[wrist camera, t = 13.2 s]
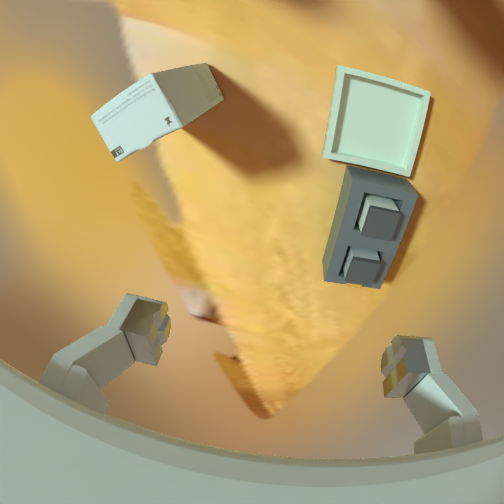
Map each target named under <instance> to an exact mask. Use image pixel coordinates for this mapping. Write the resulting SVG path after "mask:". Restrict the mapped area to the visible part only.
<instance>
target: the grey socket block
mask: <svg viewBox="0 0 504 504" xmlns="http://www.w3.org/2000/svg"><path fill="white" fill-rule="evenodd" d="M364 192H365V193H370V194H375V195H379V196H384V197H388V198H392V199H393V201H394V203H395V205H396V206H397V208H398V210H399V212H400V214H401V215H400V218H399V221H398V224H397V226H396V229H395V232H394V234H393V237H392V239H391V241H385V240H380V239H374V238H369V237H363V236H362V234H361V231H360V228H359V224H358V221H357V216H358V213H359V209H360V206H361V202H362V199H363V195H364ZM417 198H418V194H417V192H416V191H415V190H414V188H413V187H412V186H411V184H410V183H409V182H408V180H407V179H404V178H400V177H396V176H392V175H388V174H383V173H379V172H375V171H370V170H366V169H361V168H357V167H352V166H346V171H345V175H344V179H343V184H342V188H341V192H340V196H339V200H338V204H337V208H336V212H335V216H334V220H333V224H332V228H331V231H330V235H329V239H328V242H327V246H326V250H325V253H324V257H323V274H324V281H327V282H334V283H341V284H346V286H348V287H356V288H361V287H370V288H377V289H380V288H381V285H382V283H383V281H384V279H385V277H386V275H387V273H388V270H389V268H390V266H391V264H392V261H393V259H394V257H395V254H396V252H397V250H398V247H399V245H400V242H401V240H402V238H403V235H404V233H405V230H406V227H407V225H408V222H409V220H410V217H411V214H412V212H413V209H414V206H415V203H416V201H417ZM348 246H352V247H358V248H364V249H370V250H375V251H377V253H378V256H379V259H380V262H381V266H380V268H379V271H378V273H377V275H376V277H375V280H374V282H373V284H372V286H366V285H359V284H351V283H345V277H344V270H343V264H342V263H343V260H344V257H345V254H346V251H347V248H348Z"/></svg>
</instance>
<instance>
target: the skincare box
mask: <svg viewBox="0 0 504 504" xmlns="http://www.w3.org/2000/svg"><path fill="white" fill-rule="evenodd" d="M223 100H224V98H223V95H222V93H221V91H220V89H219V87H218V85H217V83H216V81H215V79H214V77H213V75H212V73H211V71H210V69H209V67H208V65H207V64H206V63H202V64H196V65H190V66H185V67H180V68H175V69H170V70H166V71H161V72H156V73H151V74H149V75H147V76H146V77H144V78H142V79H141V80H139V81H138V82H136V83H135V84H133V85H132V86H130V87H129V88H127V89H126V90H124V91H123V92H121V93H120V94H118V95H117V96H116V97H114V98H113V99H112V100H110V101H109V102H108V103H106V104H105V105H104V106H103V107H102V108H100V109H99V110H98V111H96V112H95V113H94V114H93V115H92V116H91V118H92V120H93V122H94V124H95V126H96V128H97V129H98V131H99V133H100V134H101V136H102V138H103V140H104V141H105V143H106V145H107V146H108V148H109V150H110V152H111V153H112V155H113V156H114V158H115V160H116V161H117V162H120V161H121V160H123V159H125V158H126V157H128V156H129V155H131V154H133V153H134V152H136V151H138V150H140V149H143V148H146V147H148V146H149V145H150V144H151V143H152V142H154V141H156V140H158V139H159V138H161V137H163V136H165V135H167V134H169V133H171V132H174V131H176V130H179V129H181V128H183V127H184V126H186V125H187V124H189V123H190V122H192V121H193V120H195V119H196V118H197V117H199V116H200V115H202V114H203V113H205V112H206V111H208V110H210V109H211V108H213V107H214V106H216V105H217V104H219V103H220V102H222V101H223Z"/></svg>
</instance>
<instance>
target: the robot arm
mask: <svg viewBox="0 0 504 504" xmlns="http://www.w3.org/2000/svg"><path fill="white" fill-rule="evenodd" d="M167 311H168V305H167V303H166V302H162V301H158V300H154V299H150V298H146V297H142V296H138V295H134V294H130V293H127V294H126V295H125V296H124V297H123V299H122V300H121V302H120V304H119V305H118V307H117V309H116V310H115V312H114V314H113V315H112V317H111V319H110V321H109V322H108V324H107V326H104V325H102V326H101V327H99V328H97V329H96V330H94V331H92V332H91V333H89V334H87V335H86V336H84V337H82V338H80V339H79V340H77V341H75V342H74V343H72V344H70V345H69V346H67V347H65V348H63V349H62V350H60V351H59V352H57V353H55V354H54V356H53V357H52V359H51V361H50V362H49V364H48V366H47V368H46V369H45V371H44V373H43V375H42V377H41V378H40V380H39V382H37V381H35V380H34V379H32V378H30V377H28V376H26V375H25V374H23V373H22V372H20V371H18V370H17V369H15V368H13V367H12V366H10V365H8V364H7V363H6V362H4V361H2V360H1V359H0V504H504V435H501V436H497V437H494V438H491V439H487V440H483V438H482V431H481V426H480V421H479V416H478V412H477V410H476V409H475V408H474V407H473V405H472V404H471V403H470V402H469V401H468V399H467V398H466V397H465V396H464V395H463V394H462V392H461V391H460V390H459V389H458V388H457V386H456V385H455V384H454V383H453V382H452V381H451V379H450V378H449V377H448V376H447V375H446V374H445V373H442V370H441V366H440V363H439V359H438V355H437V352H436V348H435V345H434V341H433V339H432V338H429V337H418V336H399V335H397V336H395V337H394V338H393V340H392V341H391V343H392V346H390V347H388V348H387V349H386V350H385V351H384V353H383V355H382V359H381V372H382V373H383V375H384V376H385V377H386V378H385V379H384V381H383V390H384V397H385V398H403V400H404V401H405V403H406V404H407V406H408V408H409V409H410V411H411V412H412V414H413V416H414V417H415V419H416V421H417V422H418V424H419V426H420V427H421V429H422V431H423V432H424V434H425V435H424V436H422V437H421V438H419V439H418V440H416V441H415V443H414V451H415V454H413V455H404V456H395V457H383V458H365V459H312V458H295V457H283V456H273V455H264V454H257V453H249V452H243V451H236V450H231V449H225V448H220V447H215V446H210V445H205V444H201V443H196V442H192V441H188V440H184V439H180V438H177V437H173V436H169V435H165V434H162V433H159V432H155V431H152V430H149V429H146V428H143V427H140V426H137V425H134V424H131V423H128V422H125V421H123V420H120V419H117V418H115V417H112V416H109V415H107V414H105V412H106V410H107V407H108V405H109V401H108V399H107V398H106V396H105V395H104V394H103V392H102V391H101V389H103V388H104V387H105V386H106V385H108V384H109V383H110V382H111V381H113V380H114V379H115V378H116V377H118V376H119V375H120V374H121V373H123V372H124V371H125V370H126V369H128V368H129V367H130V366H131V365H132V364H134V363H135V361H138V362H142V363H146V364H150V365H154V366H157V364H158V362H159V359H160V357H161V354H162V347H161V345H162V344H164V343H165V342H167V339H168V337H169V333H170V328H171V321H170V317H169V316H168V315H167Z"/></svg>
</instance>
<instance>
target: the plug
mask: <svg viewBox="0 0 504 504" xmlns="http://www.w3.org/2000/svg"><path fill="white" fill-rule="evenodd" d="M400 215H401V214H400V212H399V210H398V208H397V206H396V205H395V203H394V201H393V199H392V198H388V197H384V196H379V195H375V194H370V193H365V192H364V195H363V199H362V202H361V206H360V209H359V213H358V216H357V221H358V224H359V228H360V231H361V234H362V236H363V237H369V238H374V239H380V240H385V241H391V239H392V237H393V234H394V232H395V229H396V226H397V224H398V221H399V218H400Z"/></svg>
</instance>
